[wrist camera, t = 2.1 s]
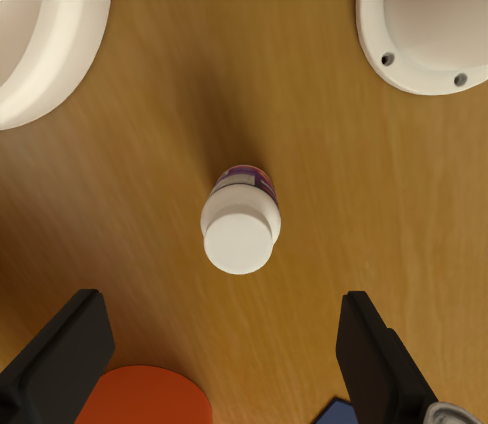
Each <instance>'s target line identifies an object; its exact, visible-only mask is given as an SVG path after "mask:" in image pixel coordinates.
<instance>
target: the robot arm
mask: <svg viewBox="0 0 488 424" xmlns="http://www.w3.org/2000/svg"><path fill="white" fill-rule="evenodd" d="M356 27H357V32H358V36H359V41H360V45H361V47H362V49H363V52H364V54H365V56H366V59H367V60H368V62H369V63H370V65H371V66H372V67H373V69H374V70H375V72H376V73H377V74H378V75H379V76H380V77H382V78H383V79H384V80H385V81H386V82H387V83H389V84H390V85H392V86H394V87H396V88H398V89H400V90H402V91H405V92H409V93H413V94H418V95H443V94H451V93H455V92H460V91H463V90H466V89H468V88H471V87H473V86H476V85H478V84H480V83H482V82H484V81H486V80H487V79H488V0H356ZM382 57H385V59H386V62H385V63H384V64H382V61H381V60H382ZM455 79H456V80H455ZM454 80H455V82H454ZM114 349H115V343H114V339H113V335H112V331H111V327H110V323H109V319H108V314H107V310H106V306H105V302H104V298H103V295H102V293H99V291H98V290H97V289H80V290H79V291H78V292H77V293H76V294H75V295H74V296H73V297H72V298H71V299H70V300H69V301H68V302H67V303H66V304H65V305H64V306H63V308H62V309H61V310H60V311H59V312H58V313H57V314H56V315H55V316H54V317H53V318H52V319H51V320H50V321H49V322H48V323H47V325H46V326H45V327H44V328H43V329H42V330H41V331H40V332H39V333H38V334H37V335H36V336H35V337H34V338H33V339H32V340H31V342H30V343H29V344H28V345H27V346H26V347H25V348H24V349H23V350H22V351H21V352H20V353H19V354H18V355H17V356H16V357H15V359H14V360H13V361H12V362H11V363H10V364H9V365H8V366H7V367H6V368H5V369H4V370H3V371H2V372H1V373H0V424H74V423H75V421H76V419H77V417H78V416H79V414H80V412H81V410H82V409H83V407H84V405H85V403H86V401H87V400H88V398H89V396H90V394H91V393H92V391H93V389H94V387H95V385H96V384H97V382H98V380H99V378H100V377H101V375H102V373H103V371H104V369H105V368H106V366H107V364H108V362H109V361H110V359H111V357H112V355H113V353H114ZM336 357H337V360H338V363H339V366H340V369H341V372H342V375H343V379H344V382H345V385H346V388H347V391H348V394H349V397H350V400H351V403H352V406H353V409H354V412H355V415H356V418H357V421H358V424H483V423H482V422H481V421H480V420H479V419H477V418H476V417H475V416H474V415H473V414H471V413H470V412H468V411H467V410H465V409H464V408H462V407H459V406H457V405H455V404H452V403H447V402H439V401H438V399H437V398H436V396H435V394H434V393H433V391H432V390H431V388H430V386H429V385H428V383H427V382H426V380H425V378H424V377H423V375H422V374H421V372H420V370H419V369H418V367H417V366H416V364H415V362H414V361H413V359H412V357H411V356H410V354H409V353H408V351H407V349H406V348H405V346H404V345H403V343H402V341H401V340H400V338H399V337H398V335H397V333H396V332H395V331H394V330H393V329H391V328H387V327H386V325H385V323H384V322H383V320H382V318H381V317H380V315H379V313H378V312H377V310H376V308H375V307H374V305H373V303H372V302H371V300H370V298H369V297H368V295H367V293H366V292H365V291H349V292H348V294H347V295H343V299H342V306H341V313H340V320H339V328H338V335H337V342H336Z"/></svg>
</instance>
